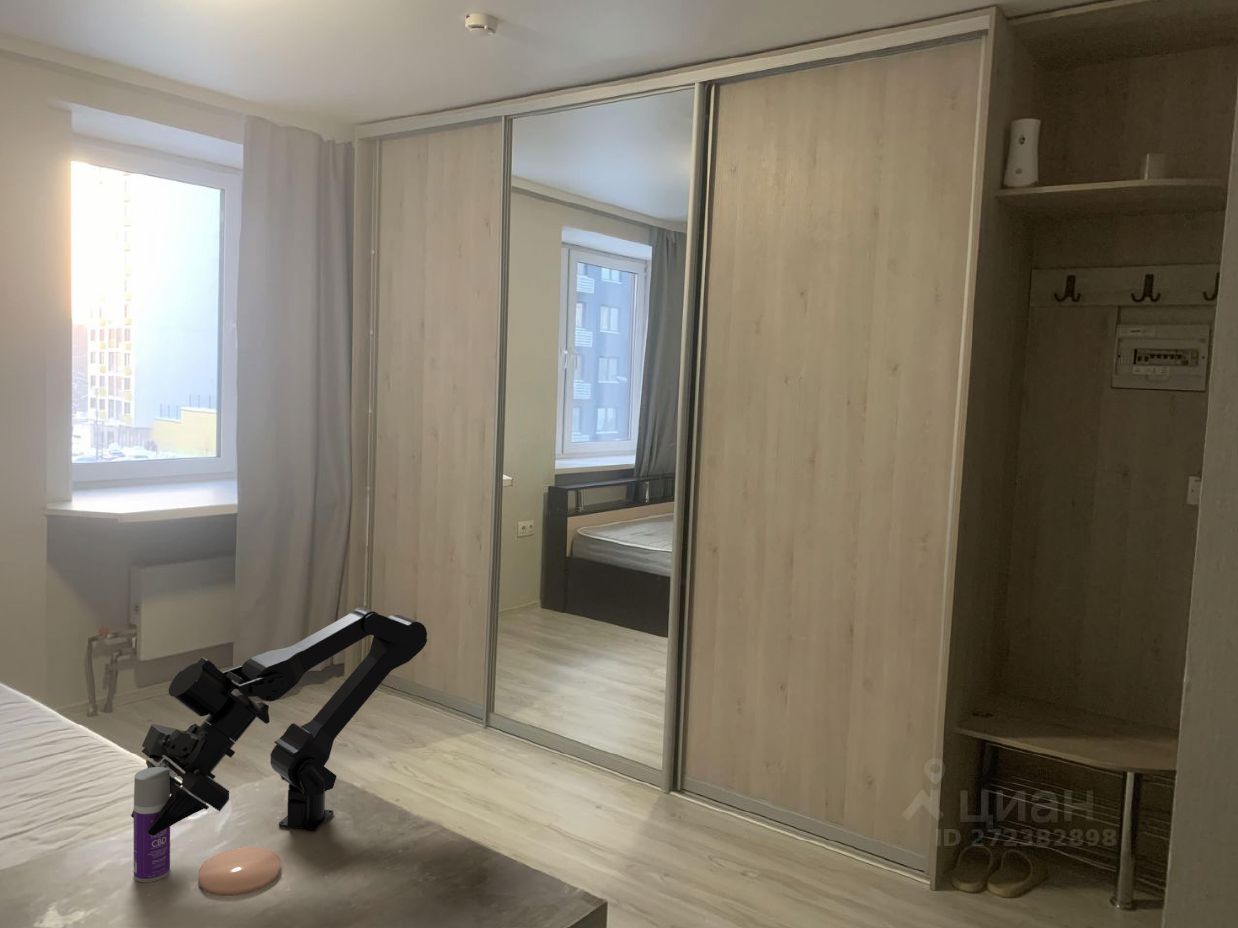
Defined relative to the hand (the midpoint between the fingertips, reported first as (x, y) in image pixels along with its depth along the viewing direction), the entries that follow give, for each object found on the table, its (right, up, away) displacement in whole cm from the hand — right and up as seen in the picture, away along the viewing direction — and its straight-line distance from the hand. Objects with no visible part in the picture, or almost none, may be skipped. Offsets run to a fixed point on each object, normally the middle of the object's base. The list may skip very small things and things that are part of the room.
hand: (141, 825), depth 129 cm
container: (+1, -8, +2) cm, 8 cm away
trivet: (+13, -8, +3) cm, 15 cm away
